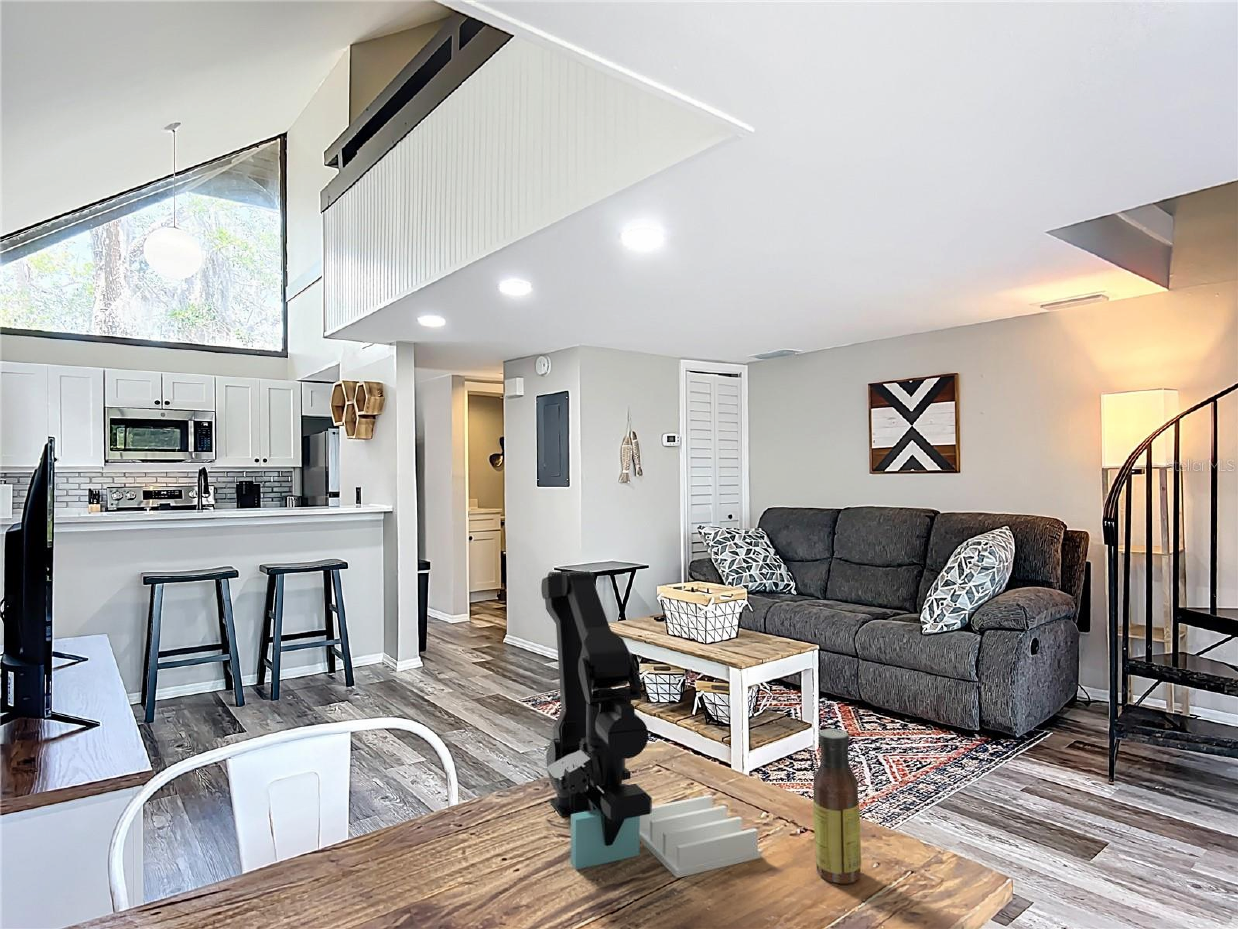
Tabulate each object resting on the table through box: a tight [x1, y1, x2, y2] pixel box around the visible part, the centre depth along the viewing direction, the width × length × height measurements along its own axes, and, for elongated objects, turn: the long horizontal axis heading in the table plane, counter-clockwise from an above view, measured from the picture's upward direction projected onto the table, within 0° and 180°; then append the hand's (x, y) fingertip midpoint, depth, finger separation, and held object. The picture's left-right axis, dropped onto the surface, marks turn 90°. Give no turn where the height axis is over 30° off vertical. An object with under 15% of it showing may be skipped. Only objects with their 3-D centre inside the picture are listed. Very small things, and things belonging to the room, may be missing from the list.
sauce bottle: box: [812, 728, 862, 885], centre depth 108 cm, size 6×6×20 cm
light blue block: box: [570, 809, 640, 871], centre depth 112 cm, size 2×10×7 cm, turn 114°
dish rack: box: [639, 794, 762, 879], centre depth 116 cm, size 14×14×4 cm
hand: (605, 841), depth 112 cm, fingers closed on light blue block, 2 cm apart
